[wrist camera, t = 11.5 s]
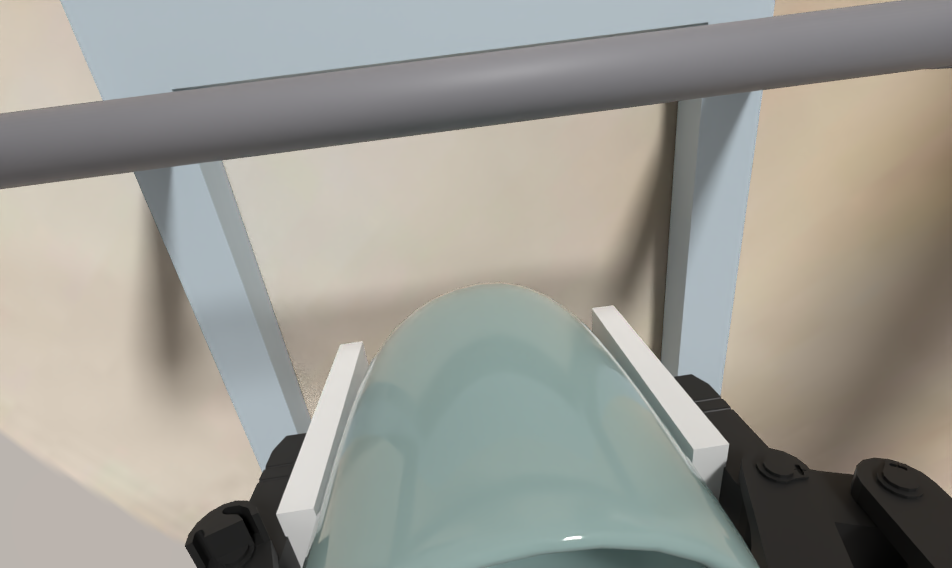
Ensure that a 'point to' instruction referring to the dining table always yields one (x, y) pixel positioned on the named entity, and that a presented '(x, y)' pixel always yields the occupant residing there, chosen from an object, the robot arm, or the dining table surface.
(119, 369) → the dining table surface
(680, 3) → the towel rail frame
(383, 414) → the cup
